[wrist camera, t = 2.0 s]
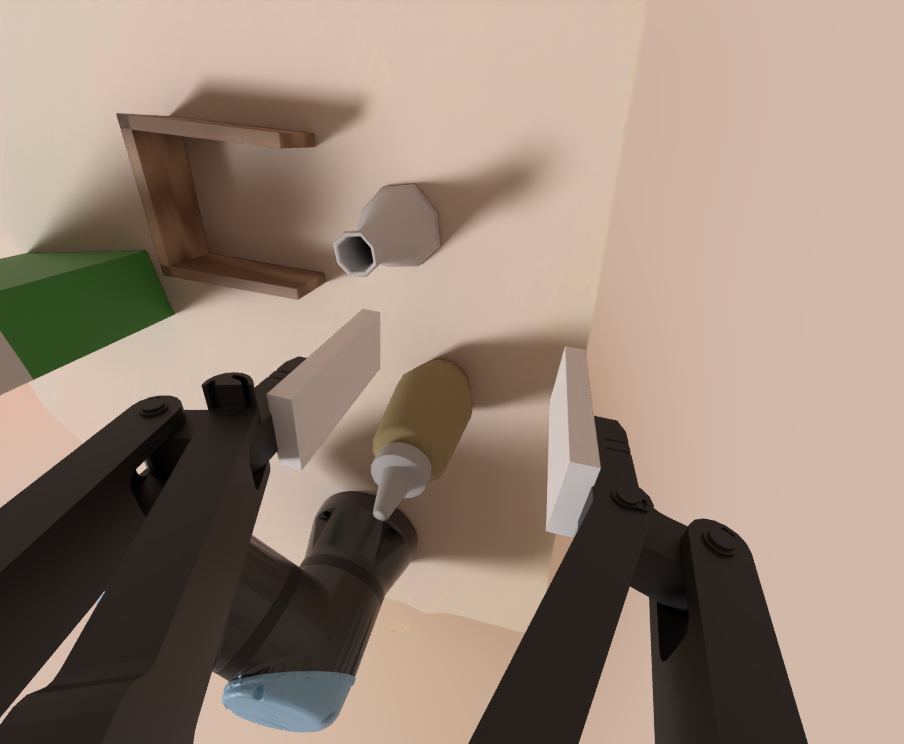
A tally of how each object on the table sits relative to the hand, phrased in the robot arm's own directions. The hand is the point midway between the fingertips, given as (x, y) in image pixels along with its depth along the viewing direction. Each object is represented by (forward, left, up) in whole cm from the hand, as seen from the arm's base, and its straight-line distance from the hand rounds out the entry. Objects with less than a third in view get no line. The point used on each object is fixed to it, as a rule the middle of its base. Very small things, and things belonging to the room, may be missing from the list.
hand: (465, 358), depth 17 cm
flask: (0, +10, -21) cm, 24 cm away
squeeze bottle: (-16, +5, -21) cm, 27 cm away
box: (0, +25, -21) cm, 33 cm away
